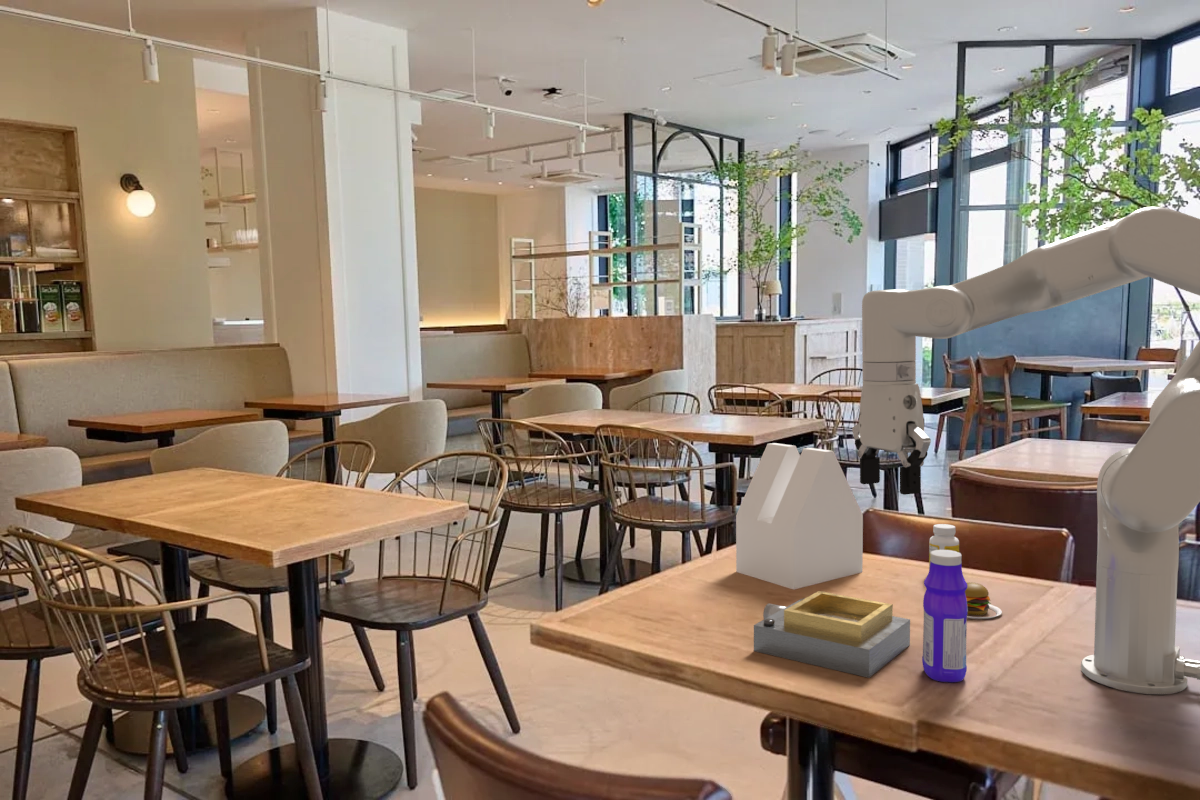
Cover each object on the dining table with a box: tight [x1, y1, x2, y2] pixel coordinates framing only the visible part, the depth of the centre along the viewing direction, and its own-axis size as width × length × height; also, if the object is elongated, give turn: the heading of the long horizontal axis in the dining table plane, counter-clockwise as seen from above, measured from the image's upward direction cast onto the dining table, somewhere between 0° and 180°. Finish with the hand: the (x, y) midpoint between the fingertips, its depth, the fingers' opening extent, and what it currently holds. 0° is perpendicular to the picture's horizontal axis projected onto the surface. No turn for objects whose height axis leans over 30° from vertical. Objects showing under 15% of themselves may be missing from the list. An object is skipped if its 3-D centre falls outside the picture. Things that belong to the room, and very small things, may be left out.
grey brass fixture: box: [753, 590, 911, 678], centre depth 140 cm, size 22×16×6 cm
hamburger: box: [965, 581, 1003, 620], centre depth 155 cm, size 12×12×6 cm
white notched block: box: [735, 442, 864, 590], centre depth 181 cm, size 19×15×25 cm
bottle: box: [921, 550, 968, 683], centre depth 127 cm, size 7×6×17 cm
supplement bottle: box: [928, 523, 960, 570], centre depth 177 cm, size 5×5×10 cm
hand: (889, 488), depth 137 cm, fingers open, 9 cm apart
